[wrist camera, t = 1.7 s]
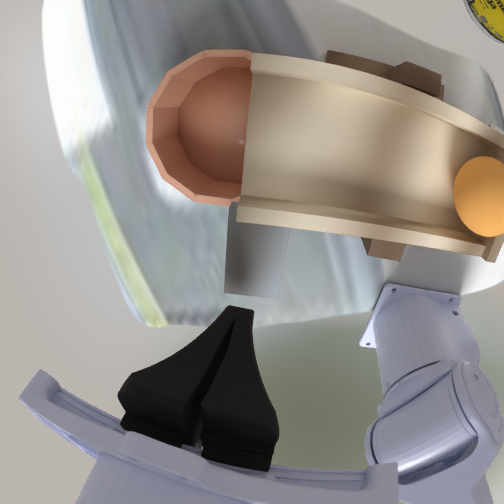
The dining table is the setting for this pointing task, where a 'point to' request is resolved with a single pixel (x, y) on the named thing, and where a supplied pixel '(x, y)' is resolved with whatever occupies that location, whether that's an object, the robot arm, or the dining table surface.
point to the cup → (202, 125)
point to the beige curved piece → (347, 167)
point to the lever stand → (405, 76)
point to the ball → (481, 195)
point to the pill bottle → (488, 17)
